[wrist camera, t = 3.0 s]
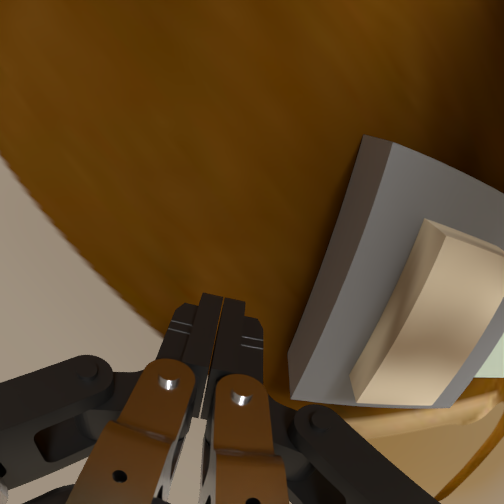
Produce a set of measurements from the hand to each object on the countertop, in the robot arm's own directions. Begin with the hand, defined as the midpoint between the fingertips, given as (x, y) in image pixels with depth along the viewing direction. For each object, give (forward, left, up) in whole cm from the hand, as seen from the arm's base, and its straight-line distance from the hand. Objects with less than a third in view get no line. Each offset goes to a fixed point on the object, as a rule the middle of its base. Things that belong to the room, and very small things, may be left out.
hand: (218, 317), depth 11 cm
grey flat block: (0, +11, -7) cm, 13 cm away
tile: (0, +10, -3) cm, 10 cm away
